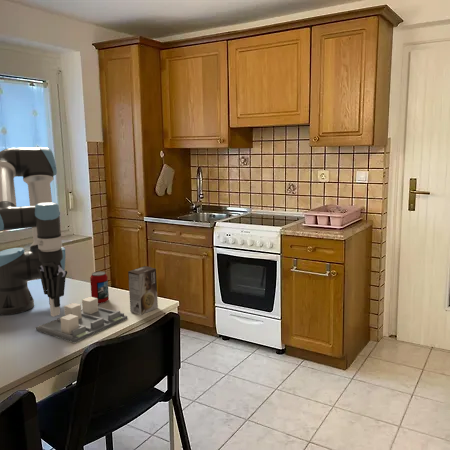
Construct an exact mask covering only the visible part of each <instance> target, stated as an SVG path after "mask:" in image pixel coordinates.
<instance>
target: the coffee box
mask: <svg viewBox="0 0 450 450" xmlns="http://www.w3.org/2000/svg"><path fill="white" fill-rule="evenodd" d="M127 272H128V277H127V278H128V289H129V290H128V291H129V310H130V312H131V313H133V312H134V314H136V315H140V314H141V315H142V316H143V315H145V314H147V313H149V312H151V311H153V310H156V309H158V308H159V305H158V303H159V302H158V286H157V285H158V284H157V283H158V282H157V268H156V267H155V268H154V267H151V266H145V265H144V266H141V267H138V268H135V269H132V270H129V271H127ZM144 313H145V314H144Z"/></svg>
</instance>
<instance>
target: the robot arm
mask: <svg viewBox="0 0 450 450" xmlns="http://www.w3.org/2000/svg"><path fill="white" fill-rule="evenodd" d="M57 173H58V171H57V164H56V160H55V156H54V153H53V151H52V150H51V149H50V148H49V147H41V146H37V147H9V148H5V149H2V150H1V151H0V231H7V230H18V229H32V238H33V239H32V240H33V242H32V243H31V244H30V246H29V250H27V251H25V248H24V247H11V248H8V249H4V250H1V251H0V315H1V316H3V315H4V316H5V315H6V316H7V315H15V314H21V313H23V312H26V311H29V310H31V309H32V308H34V306H35V302H34V301H35V300H34V297H33V295H32V293H31V291H30V289H29V286H28V281H34V280H37V281H38V280H40V281H41V286H42V290H43V294H44V295H46V296H47V297H48V302H49V310H50V316H51V317H53V318H54V317H56V316H59V315H61V300H60V299H61V297H63V296H64V295H65V287H66V277H67V274H68V271H67V270H66V255H67V254H66V248H65V247H63V241H62V232H61V217H60V216H61V212H60V207H59V203H57V202H53V197H52V186H51V183H52V182H53V180H54V176H57ZM16 177H22V180H23V182H24V183H25V184H27V190H28V199H29V205H28V206H27V205H26V206H24V205H23V206H17V198H16V189H15V178H16Z"/></svg>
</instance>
